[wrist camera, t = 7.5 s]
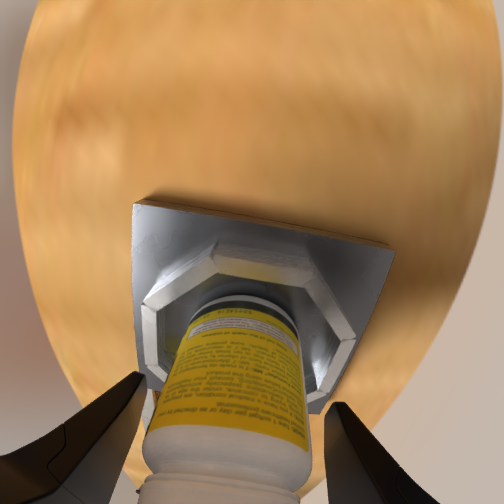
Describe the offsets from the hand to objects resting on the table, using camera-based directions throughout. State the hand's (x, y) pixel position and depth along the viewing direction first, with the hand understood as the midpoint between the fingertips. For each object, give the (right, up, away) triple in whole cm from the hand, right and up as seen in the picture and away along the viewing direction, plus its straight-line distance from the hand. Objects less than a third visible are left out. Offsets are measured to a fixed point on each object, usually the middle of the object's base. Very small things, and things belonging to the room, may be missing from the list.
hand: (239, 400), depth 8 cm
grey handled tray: (-1, -6, +7) cm, 9 cm away
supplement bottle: (0, +1, +3) cm, 4 cm away
